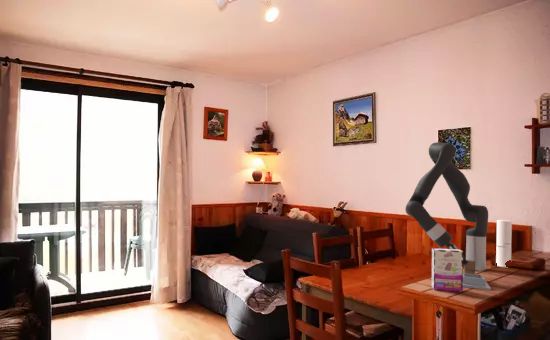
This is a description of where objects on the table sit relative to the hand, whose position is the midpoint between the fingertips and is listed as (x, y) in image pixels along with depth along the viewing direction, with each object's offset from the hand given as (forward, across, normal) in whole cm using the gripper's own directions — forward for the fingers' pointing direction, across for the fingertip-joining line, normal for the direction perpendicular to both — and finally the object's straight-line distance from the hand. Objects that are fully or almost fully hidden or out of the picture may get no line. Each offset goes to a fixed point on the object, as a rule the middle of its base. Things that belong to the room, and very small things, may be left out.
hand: (465, 262), depth 179 cm
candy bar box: (-1, -25, +12) cm, 28 cm away
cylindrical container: (+22, +47, -11) cm, 53 cm away
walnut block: (+7, 0, +4) cm, 8 cm away
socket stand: (+7, -11, +4) cm, 14 cm away
